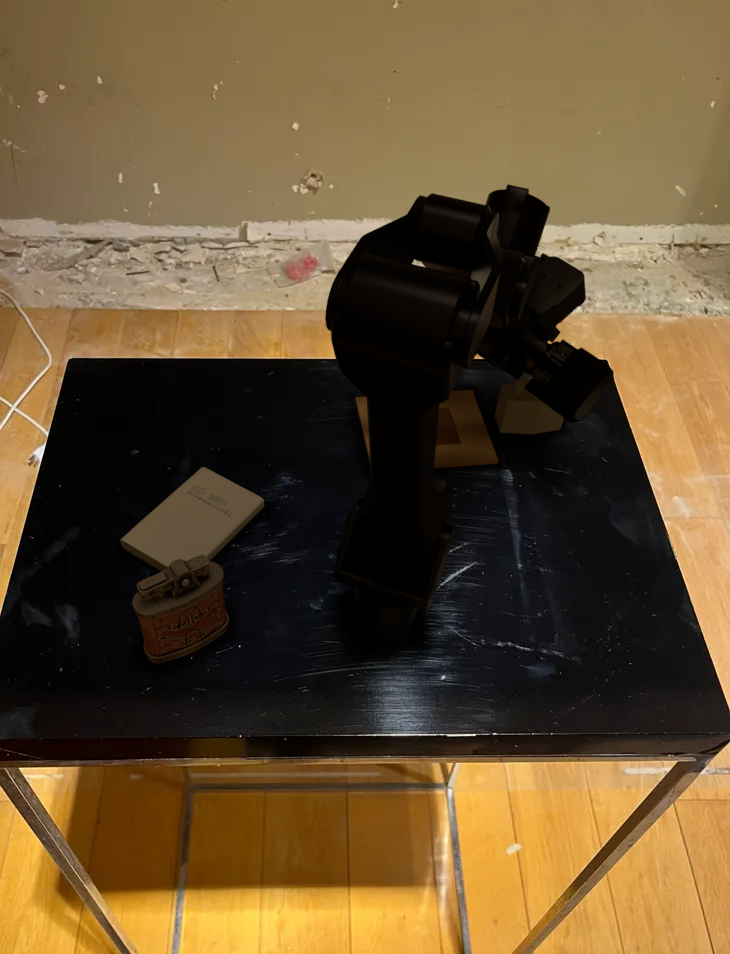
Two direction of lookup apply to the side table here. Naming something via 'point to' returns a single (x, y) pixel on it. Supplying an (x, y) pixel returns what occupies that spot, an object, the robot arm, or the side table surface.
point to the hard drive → (193, 521)
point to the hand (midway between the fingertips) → (549, 373)
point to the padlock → (524, 410)
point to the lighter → (181, 608)
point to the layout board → (452, 432)
